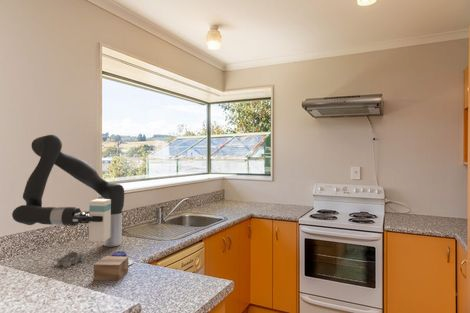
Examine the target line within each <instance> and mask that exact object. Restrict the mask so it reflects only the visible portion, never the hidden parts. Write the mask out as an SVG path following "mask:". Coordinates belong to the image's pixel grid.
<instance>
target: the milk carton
mask: <svg viewBox="0 0 470 313" xmlns="http://www.w3.org/2000/svg"><path fill="white" fill-rule="evenodd" d="M88 212H89V216H91V215H92V216H103V221H102V222H91V223H90V222H89V223H88V226H89V228H88V242H103V241H105V240H107V239H109V238H110V225H111V199H104V198H94V199H93V200H89V209H88Z"/></svg>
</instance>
